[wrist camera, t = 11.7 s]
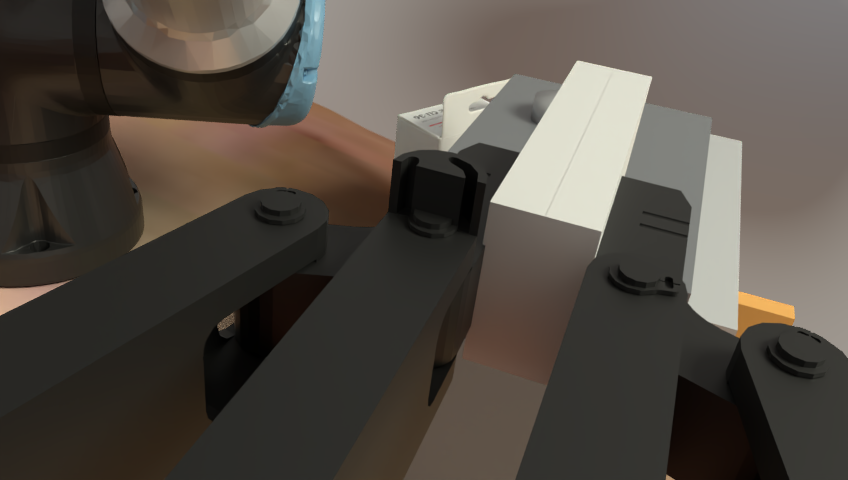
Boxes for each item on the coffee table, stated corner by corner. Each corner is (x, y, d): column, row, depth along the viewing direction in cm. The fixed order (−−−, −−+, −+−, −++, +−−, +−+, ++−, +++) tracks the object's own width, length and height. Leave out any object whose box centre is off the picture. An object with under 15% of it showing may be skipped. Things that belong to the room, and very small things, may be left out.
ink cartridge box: (456, 218, 69) (480, 56, 61) (497, 243, 66) (528, 77, 59) (382, 247, 64) (399, 73, 56) (424, 275, 61) (447, 97, 53)
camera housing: (365, 505, 42) (398, 185, 32) (473, 306, 58) (518, 55, 48) (627, 605, 38) (756, 282, 28) (664, 364, 55) (754, 106, 45)
